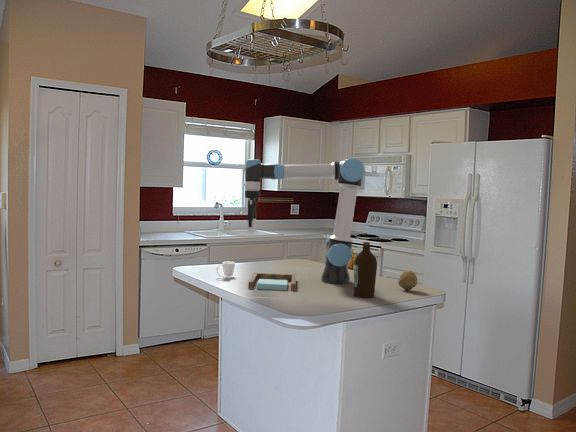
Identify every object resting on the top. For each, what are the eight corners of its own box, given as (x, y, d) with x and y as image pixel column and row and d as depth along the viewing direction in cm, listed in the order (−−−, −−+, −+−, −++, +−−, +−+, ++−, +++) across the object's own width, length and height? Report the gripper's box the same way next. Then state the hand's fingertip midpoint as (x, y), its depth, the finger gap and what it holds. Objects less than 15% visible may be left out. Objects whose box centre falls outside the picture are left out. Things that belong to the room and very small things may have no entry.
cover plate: (287, 285, 253) (287, 280, 253) (286, 290, 242) (286, 284, 241) (259, 283, 254) (259, 278, 254) (256, 288, 242) (257, 283, 242)
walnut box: (295, 282, 266) (296, 274, 266) (295, 292, 241) (295, 283, 241) (253, 280, 267) (253, 272, 267) (248, 290, 242) (248, 281, 242)
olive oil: (373, 293, 245) (376, 241, 243) (377, 298, 234) (380, 244, 233) (351, 292, 245) (353, 240, 243) (353, 297, 234) (356, 243, 233)
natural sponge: (421, 291, 254) (422, 271, 254) (407, 293, 250) (408, 272, 249) (408, 288, 262) (409, 268, 261) (395, 289, 258) (396, 269, 257)
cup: (236, 278, 270) (237, 263, 270) (218, 279, 266) (218, 263, 266) (232, 276, 277) (233, 261, 276) (214, 276, 272) (215, 261, 272)
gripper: (247, 189, 271) (247, 230, 272) (242, 190, 246) (241, 234, 247) (262, 190, 271) (261, 230, 272) (257, 190, 246) (256, 235, 247)
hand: (251, 232), depth 260 cm, fingers open, 13 cm apart
